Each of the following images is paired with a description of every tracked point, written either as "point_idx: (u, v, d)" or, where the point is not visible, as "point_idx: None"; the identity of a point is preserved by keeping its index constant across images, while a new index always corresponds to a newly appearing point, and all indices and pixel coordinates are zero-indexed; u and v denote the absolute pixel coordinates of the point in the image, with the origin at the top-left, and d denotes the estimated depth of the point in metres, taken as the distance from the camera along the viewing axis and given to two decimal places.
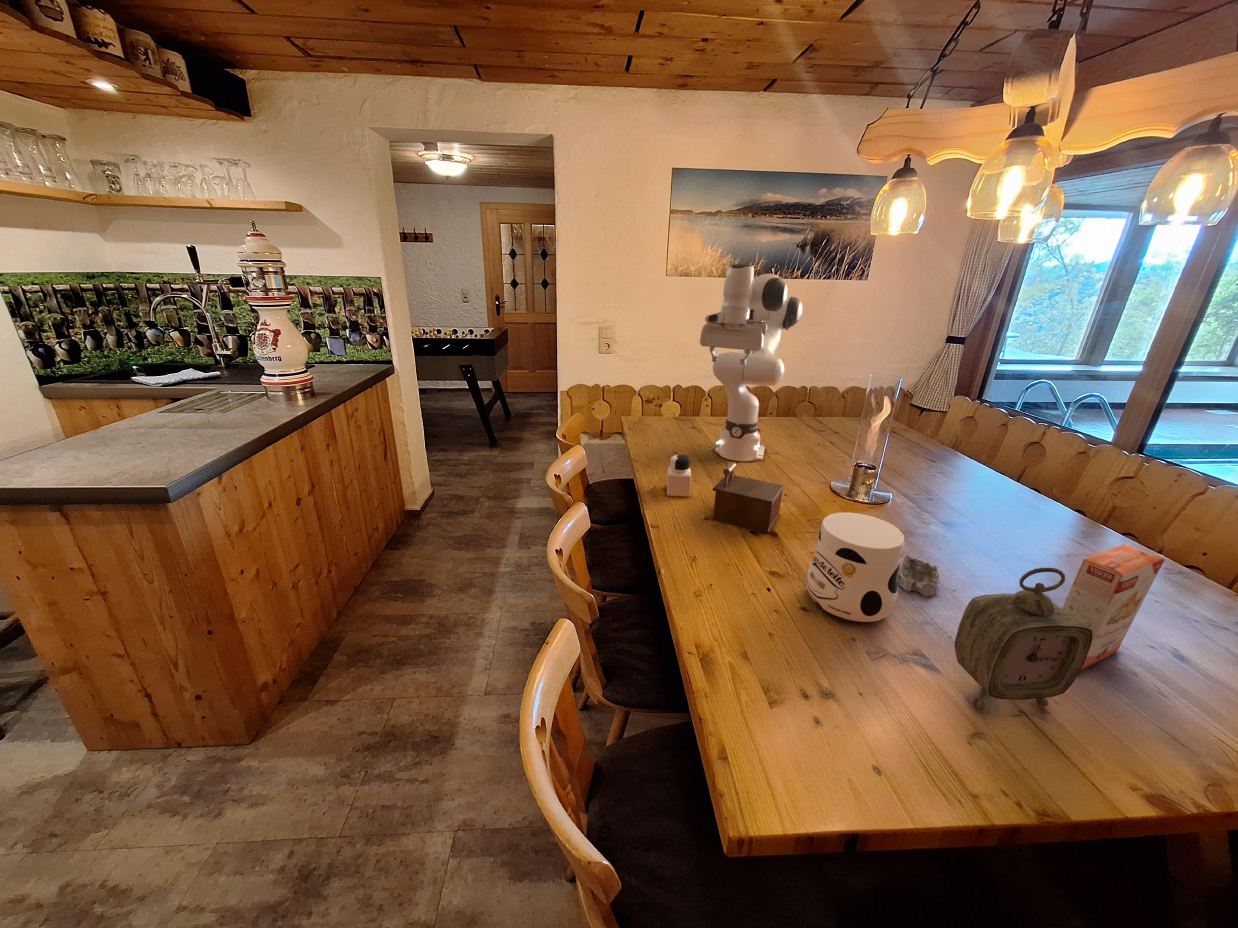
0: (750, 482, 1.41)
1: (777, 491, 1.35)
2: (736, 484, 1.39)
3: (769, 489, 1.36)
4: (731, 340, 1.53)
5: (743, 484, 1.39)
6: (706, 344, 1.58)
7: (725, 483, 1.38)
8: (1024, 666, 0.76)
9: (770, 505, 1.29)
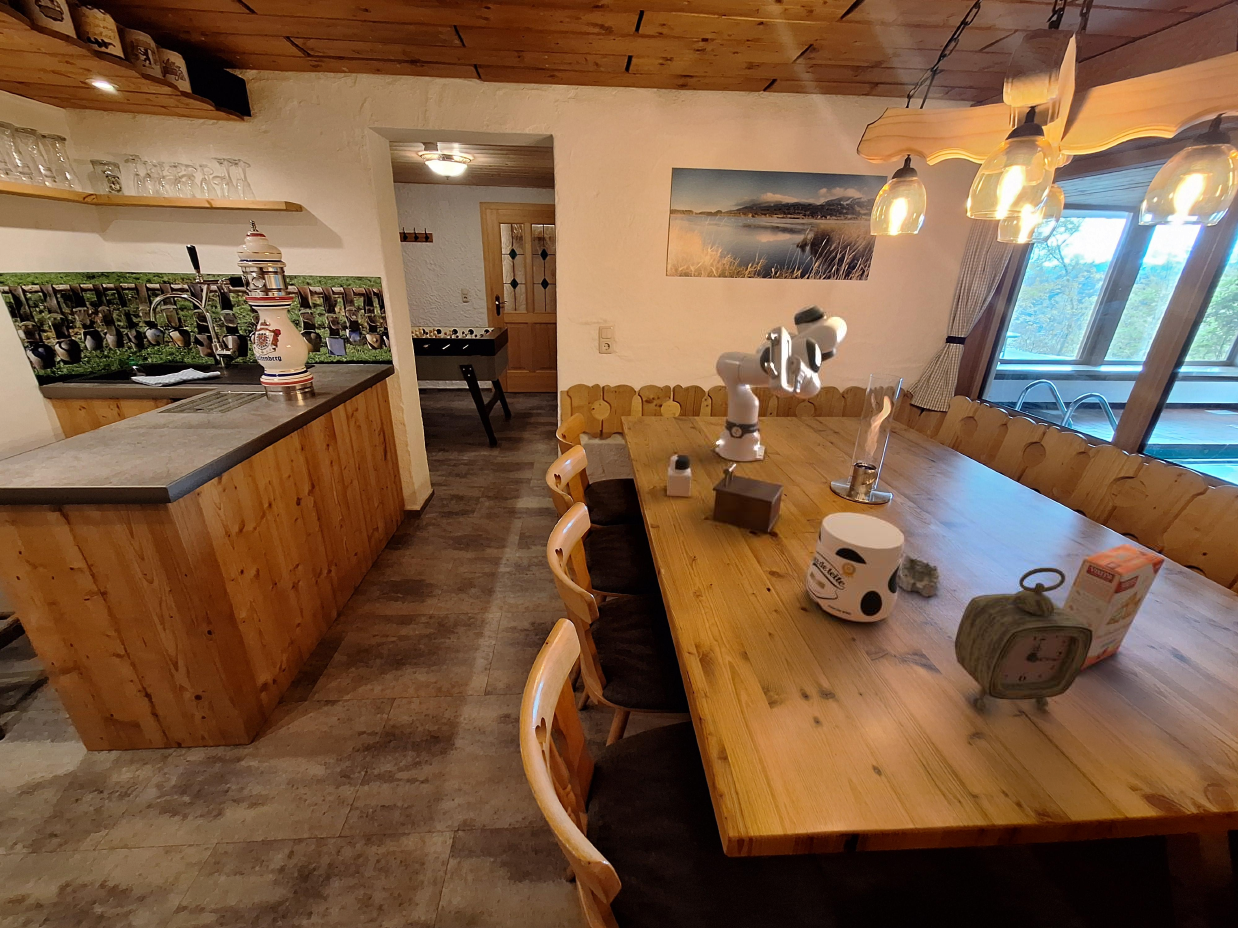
0: (750, 482, 1.41)
1: (777, 491, 1.35)
2: (736, 484, 1.39)
3: (769, 489, 1.36)
4: None
5: (743, 484, 1.39)
6: None
7: (725, 483, 1.38)
8: (1024, 666, 0.76)
9: (770, 505, 1.29)
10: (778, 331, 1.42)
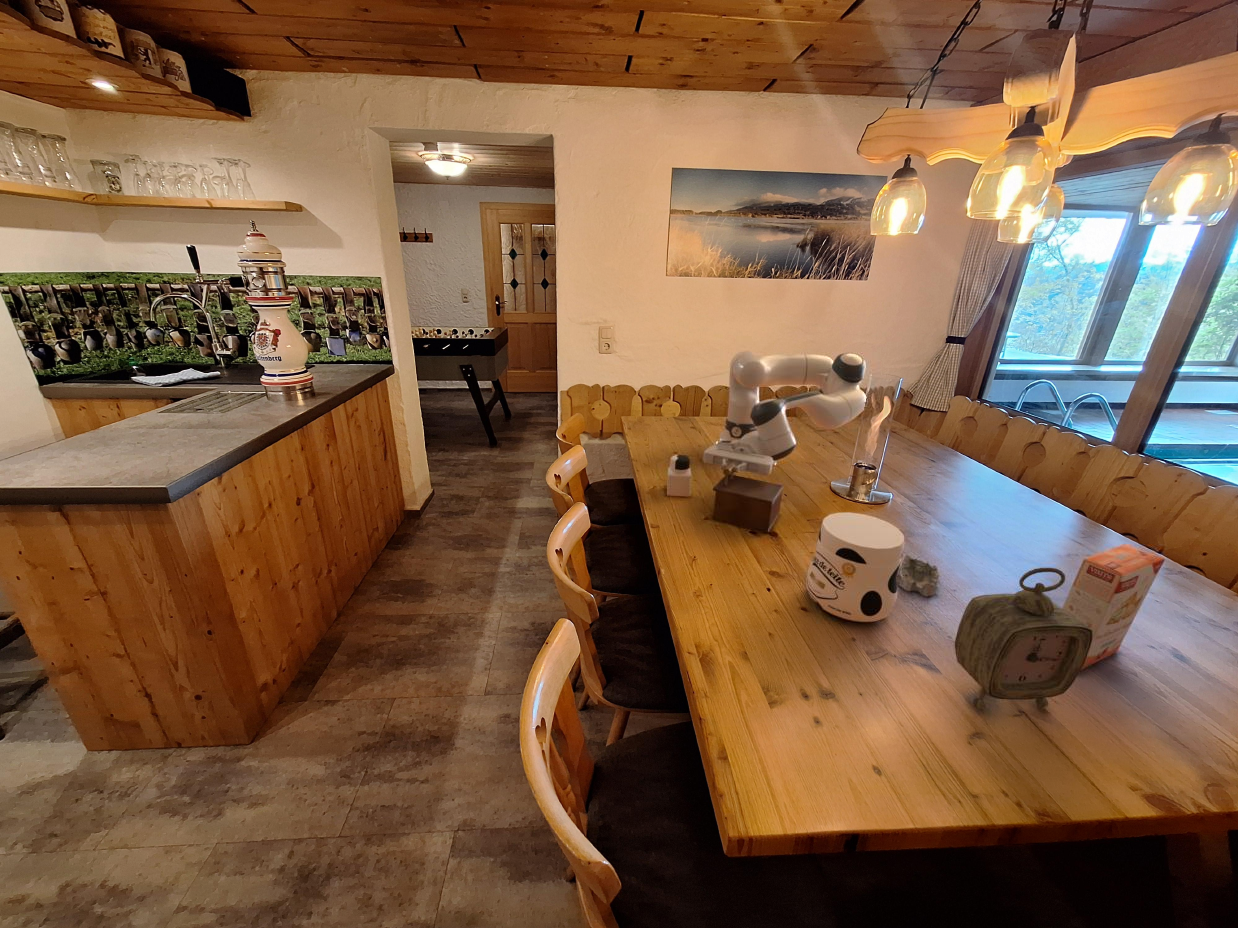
0: (750, 482, 1.41)
1: (777, 491, 1.35)
2: (736, 484, 1.39)
3: (769, 489, 1.36)
4: (739, 455, 1.44)
5: (743, 484, 1.39)
6: (711, 452, 1.46)
7: (725, 483, 1.38)
8: (1024, 666, 0.76)
9: (770, 505, 1.29)
10: (761, 472, 1.40)
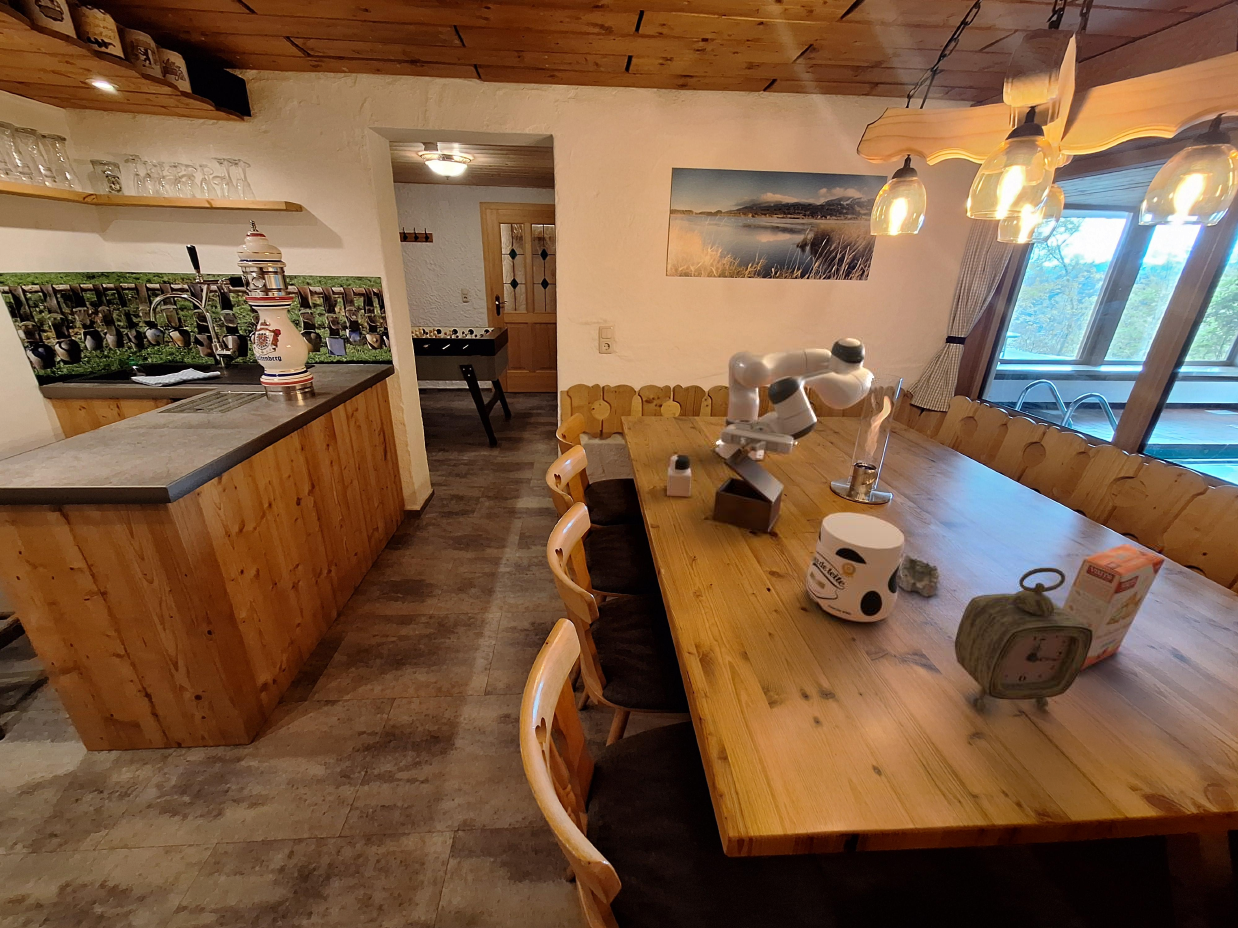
0: (757, 469, 1.38)
1: (778, 491, 1.35)
2: (745, 465, 1.36)
3: (772, 485, 1.36)
4: (758, 434, 1.39)
5: (751, 468, 1.37)
6: (729, 431, 1.42)
7: (737, 461, 1.34)
8: (1024, 666, 0.76)
9: (770, 505, 1.29)
10: (781, 451, 1.35)
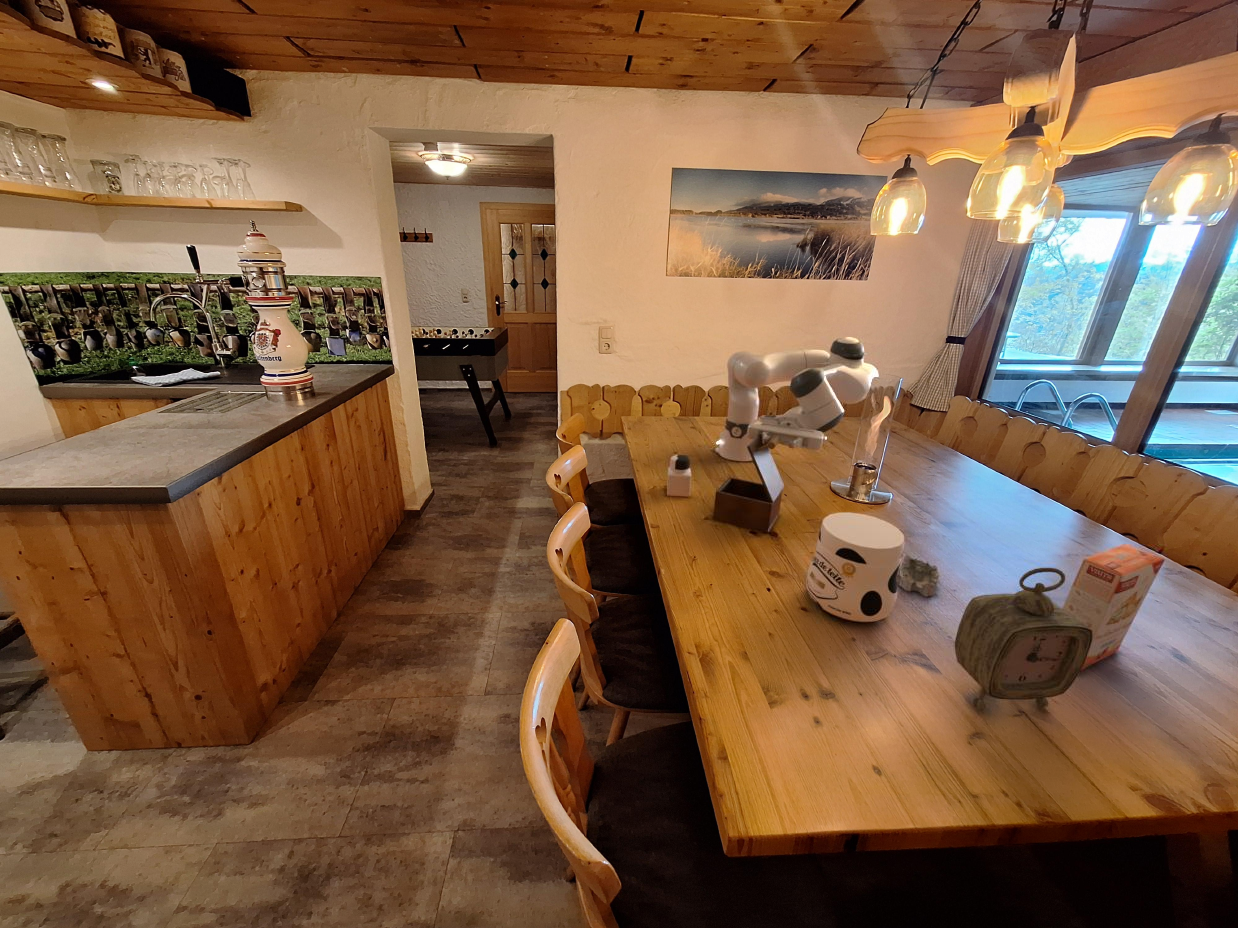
0: (770, 462, 1.36)
1: (779, 491, 1.35)
2: (762, 455, 1.33)
3: (776, 483, 1.35)
4: (787, 430, 1.35)
5: (765, 460, 1.34)
6: (756, 427, 1.37)
7: (759, 449, 1.30)
8: (1024, 666, 0.76)
9: (770, 505, 1.29)
10: (812, 447, 1.30)
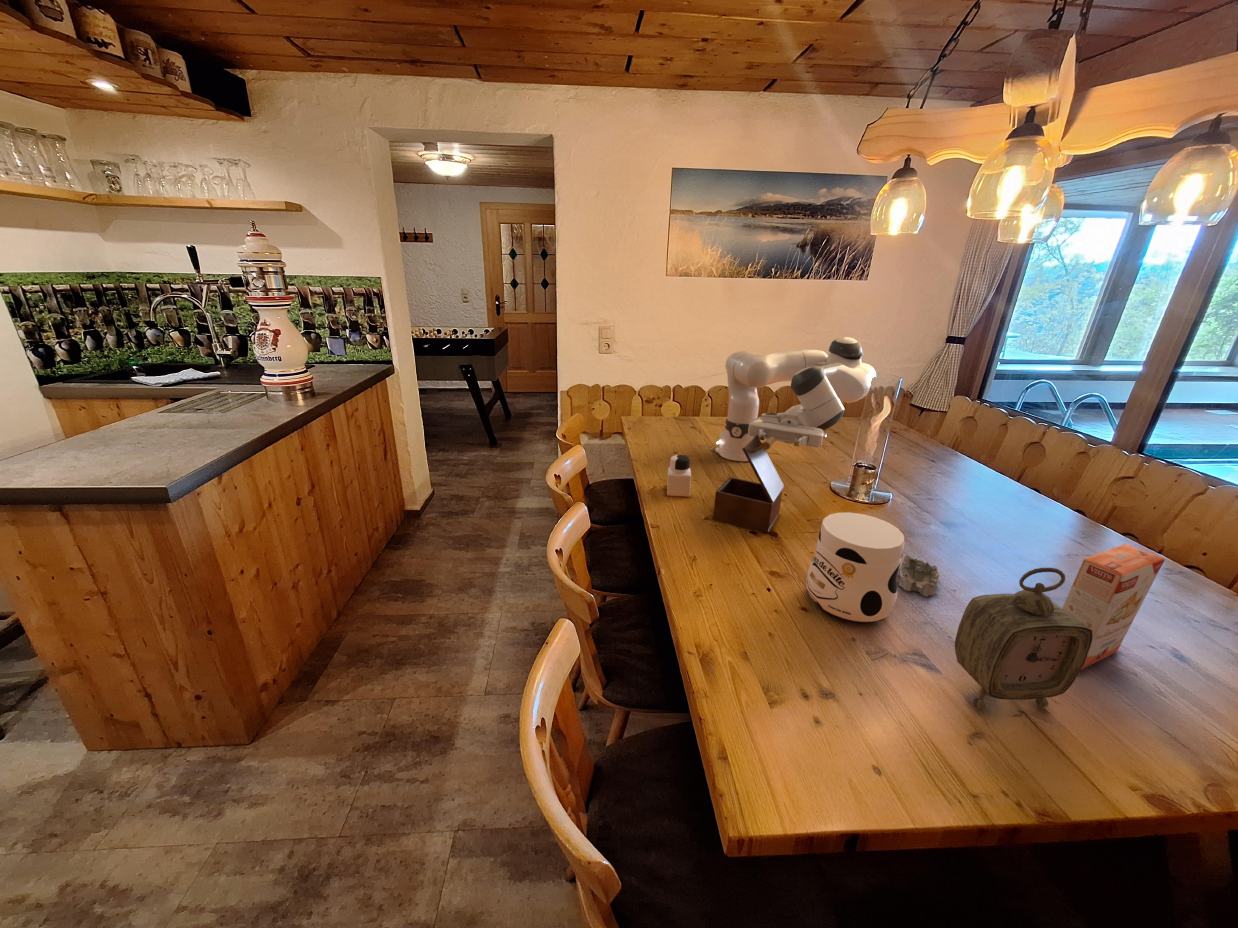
0: (767, 462, 1.36)
1: (779, 491, 1.35)
2: (759, 456, 1.33)
3: (775, 483, 1.35)
4: (787, 427, 1.37)
5: (763, 461, 1.34)
6: (757, 424, 1.39)
7: (754, 450, 1.31)
8: (1024, 666, 0.76)
9: (770, 505, 1.29)
10: (812, 444, 1.32)
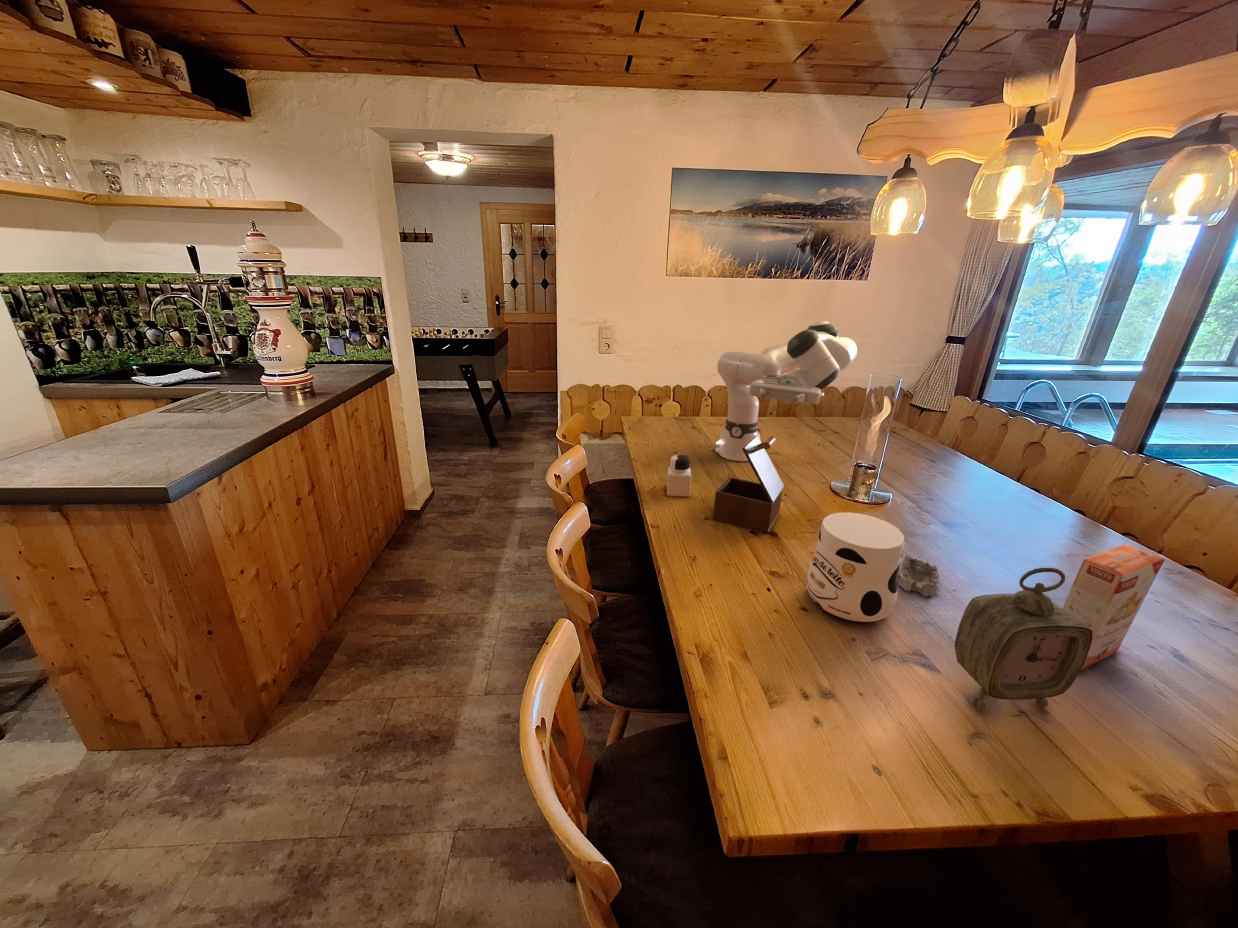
0: (767, 462, 1.36)
1: (779, 491, 1.35)
2: (759, 456, 1.33)
3: (775, 483, 1.35)
4: (787, 386, 1.44)
5: (762, 461, 1.34)
6: (758, 384, 1.47)
7: (754, 450, 1.31)
8: (1024, 666, 0.76)
9: (770, 505, 1.29)
10: (810, 401, 1.40)
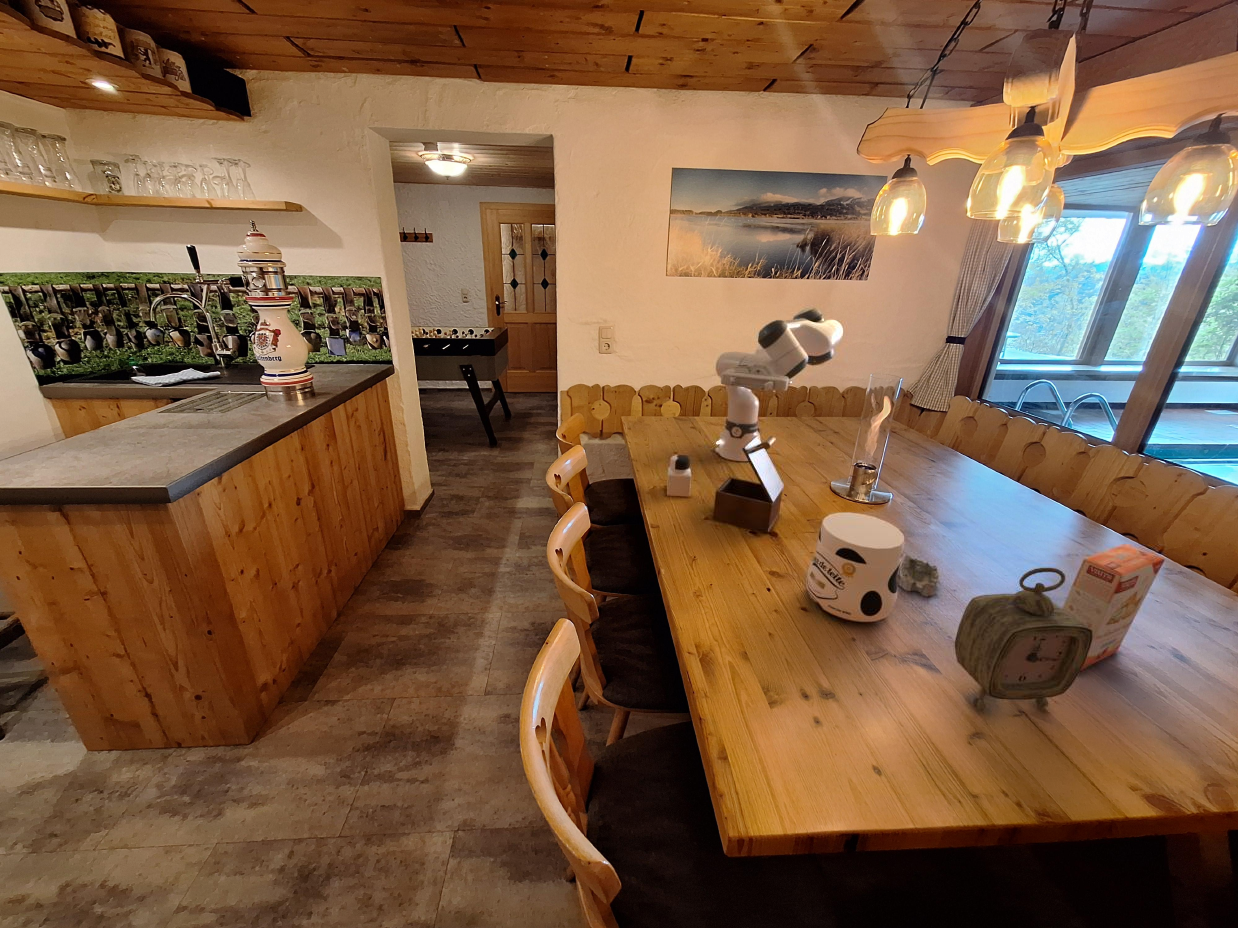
0: (767, 462, 1.36)
1: (779, 491, 1.35)
2: (759, 456, 1.33)
3: (775, 483, 1.35)
4: (756, 375, 1.49)
5: (762, 461, 1.34)
6: (729, 373, 1.52)
7: (754, 450, 1.31)
8: (1024, 666, 0.76)
9: (770, 505, 1.29)
10: (777, 389, 1.45)
